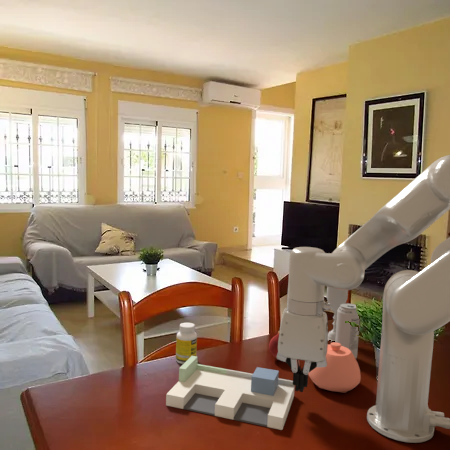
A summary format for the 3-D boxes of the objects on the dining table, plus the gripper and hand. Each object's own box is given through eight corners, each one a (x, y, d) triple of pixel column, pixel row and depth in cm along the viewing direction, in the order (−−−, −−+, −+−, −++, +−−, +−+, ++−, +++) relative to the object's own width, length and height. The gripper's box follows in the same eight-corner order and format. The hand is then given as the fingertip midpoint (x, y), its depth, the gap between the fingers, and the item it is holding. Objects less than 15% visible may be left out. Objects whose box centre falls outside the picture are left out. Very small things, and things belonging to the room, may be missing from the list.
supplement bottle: (193, 366, 112) (194, 329, 111) (173, 363, 113) (173, 327, 112) (198, 357, 118) (199, 322, 116) (179, 355, 119) (180, 320, 118)
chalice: (322, 341, 132) (326, 283, 130) (321, 334, 139) (325, 278, 137) (347, 344, 131) (351, 285, 129) (345, 336, 138) (349, 280, 136)
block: (278, 385, 98) (278, 370, 98) (273, 396, 93) (274, 380, 93) (256, 381, 99) (257, 367, 99) (250, 391, 95) (251, 376, 94)
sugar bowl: (303, 390, 101) (305, 348, 100) (312, 366, 114) (315, 329, 113) (358, 401, 97) (361, 357, 96) (361, 375, 110) (364, 336, 109)
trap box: (294, 395, 99) (295, 372, 98) (282, 430, 85) (283, 403, 84) (191, 376, 106) (192, 355, 106) (166, 405, 93) (166, 380, 92)
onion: (293, 359, 119) (294, 330, 118) (284, 366, 114) (285, 336, 113) (274, 353, 122) (275, 326, 121) (264, 360, 117) (265, 332, 116)
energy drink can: (341, 352, 125) (344, 301, 123) (360, 359, 120) (364, 306, 119) (330, 358, 120) (333, 305, 119) (350, 365, 116) (353, 310, 114)
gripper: (342, 305, 93) (336, 387, 95) (273, 297, 98) (269, 375, 100) (340, 316, 86) (334, 404, 88) (266, 306, 90) (262, 390, 93)
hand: (299, 388), depth 94 cm, fingers closed
